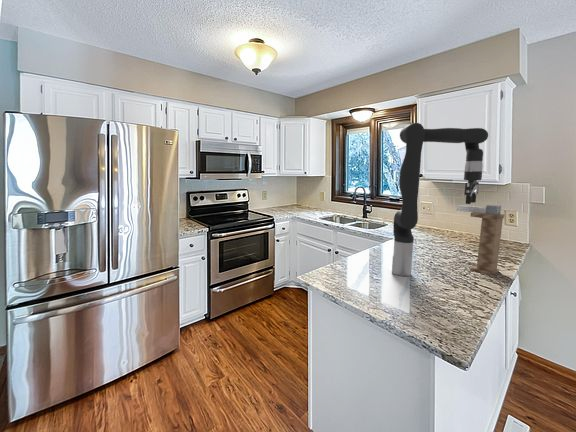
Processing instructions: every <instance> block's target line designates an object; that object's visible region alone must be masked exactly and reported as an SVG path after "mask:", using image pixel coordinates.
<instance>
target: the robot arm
mask: <svg viewBox="0 0 576 432" xmlns="http://www.w3.org/2000/svg"><path fill="white" fill-rule="evenodd" d="M399 138H400V140H401V142H403V143H404V144H405V154H404V157H403V160H402V164H401V165H400V170H399V178H398V180H399V181H398V182H399V184H398V186H399V191H400V195H401V199H402V204H401V205H402V206H401V209H400V210H397V211H396V213H395V214H394V217H393V236H394V237H393V238H394V239H393V240H394V242H393V253H392V254H393V255H392V261H391V262H392V264H391V274H393V275H395V276H396V275H397V276H400V277H409V276H411V275H412V267H413V252H414V239H415V238H414V235H413V233H412V230H413V229H414V228H415V227H416V226H417V224H418V220H419V218H418V217H419V216H418V215H419V211H418V208H419V207H418V202H419V201H418V200H419V188H420V179H421V178H420V177H421V176H420V175H421V165H422V164H421V162H422V151H423V150H422V149H423V144H424V143H428V142H429V143H444V144H445V143H446V144H463V143H464V147H465V152H466V154H465V163H464V171H463V172H464V173H463V180H464V181H467V182H465V187H464V196H465V204H466V205H470V204H474V203H476V202H477V195H478V194H479V184H480V183H479V181H481V180H482V178H483V168H484V163H483V160H484V158H483V157H484V150H483V149H481V148H480V144H482V143H484V142H485V141H487V140H488V138H489V132H488V131H487V129H485V128H482V127H474V128H473V127H471V128H457V127H443V128H424V126H423V125H422V124H421V123H419V122H414V123H413V122H412V123H410V124H408V125H406V126H404V127H403V128H402V129H401V130H400V132H399Z"/></svg>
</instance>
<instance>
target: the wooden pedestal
mask: <svg viewBox="0 0 576 432" xmlns="http://www.w3.org/2000/svg"><path fill="white" fill-rule="evenodd" d="M470 217H472V218H479V219H481V224H480V235H479V241H478V242H479V244H478V252H477V259H476V260H477V261H476V264H475V265H472V266H471V267H469V270H470V271H471V272H472V271H473V272H478V273H481V274H484V275H489V276H492V275H494V274H496V273H499V271H500V269H499V268H498V263H499V255H500V254H499V253H500V246H501V239H502V238H501V237H502V228H503V221H504V219H505V214H504V213H500V215H491V214H483V213H473V212H470Z"/></svg>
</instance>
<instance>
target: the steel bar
mask: <svg viewBox="0 0 576 432" xmlns="http://www.w3.org/2000/svg"><path fill="white" fill-rule="evenodd" d="M455 211H456V212H465V213H483V214H491V215H500V214H502V213H501V211H502V205H497V204H496V205H495V204H487V205H486V207H485V206H473V205H463V204H459V205H456V210H455Z"/></svg>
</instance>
